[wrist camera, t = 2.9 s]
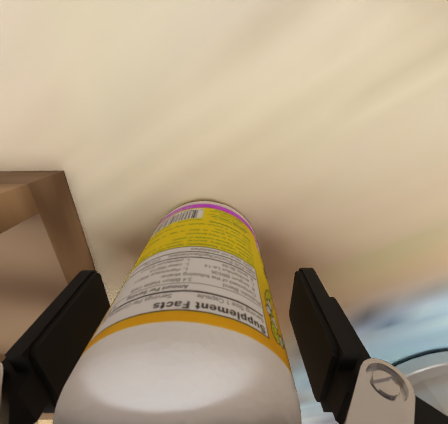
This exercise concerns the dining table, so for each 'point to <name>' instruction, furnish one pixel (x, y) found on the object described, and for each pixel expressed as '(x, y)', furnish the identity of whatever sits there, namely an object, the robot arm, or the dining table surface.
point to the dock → (36, 249)
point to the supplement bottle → (188, 334)
